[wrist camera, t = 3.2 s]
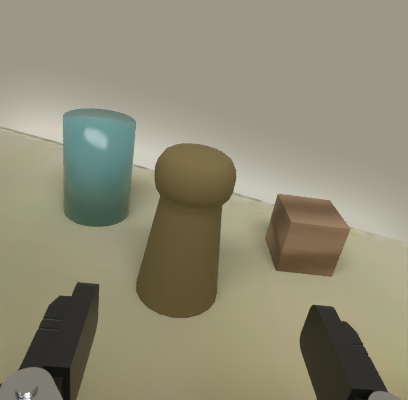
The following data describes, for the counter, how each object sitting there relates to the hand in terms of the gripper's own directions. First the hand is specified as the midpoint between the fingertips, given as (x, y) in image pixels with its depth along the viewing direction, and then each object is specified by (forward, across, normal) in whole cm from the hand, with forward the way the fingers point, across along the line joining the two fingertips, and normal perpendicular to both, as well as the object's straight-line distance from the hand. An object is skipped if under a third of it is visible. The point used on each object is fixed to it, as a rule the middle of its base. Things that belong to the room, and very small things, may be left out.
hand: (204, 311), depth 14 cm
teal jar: (+22, +8, +8) cm, 25 cm away
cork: (+12, 0, +9) cm, 14 cm away
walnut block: (+18, -11, +9) cm, 22 cm away
